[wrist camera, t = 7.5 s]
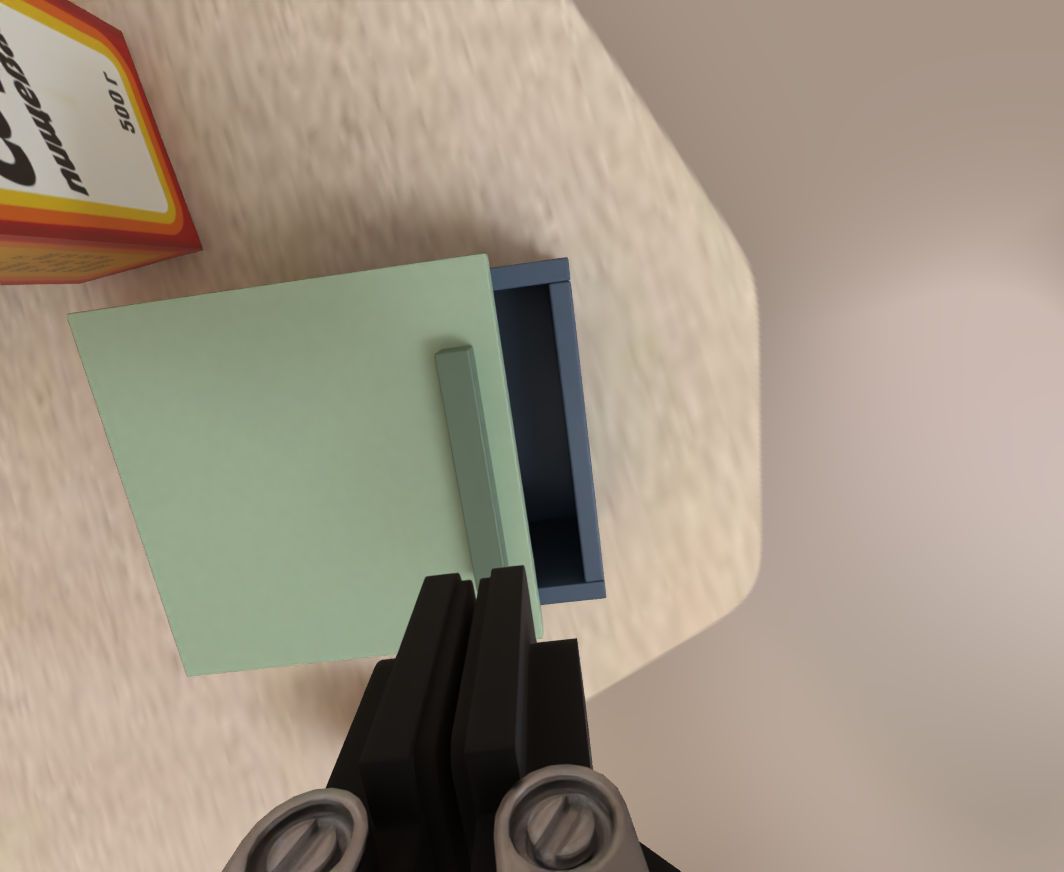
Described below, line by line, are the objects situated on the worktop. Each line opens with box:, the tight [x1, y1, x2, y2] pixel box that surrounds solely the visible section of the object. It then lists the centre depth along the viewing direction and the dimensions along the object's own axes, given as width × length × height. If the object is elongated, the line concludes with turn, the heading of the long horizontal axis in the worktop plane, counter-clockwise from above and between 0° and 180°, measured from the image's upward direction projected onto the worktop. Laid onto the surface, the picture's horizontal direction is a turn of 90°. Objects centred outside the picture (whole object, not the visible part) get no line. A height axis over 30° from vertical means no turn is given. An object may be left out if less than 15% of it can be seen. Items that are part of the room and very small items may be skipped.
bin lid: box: [67, 253, 543, 677], centre depth 22 cm, size 15×15×2 cm
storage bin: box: [490, 257, 606, 605], centre depth 27 cm, size 14×14×8 cm
